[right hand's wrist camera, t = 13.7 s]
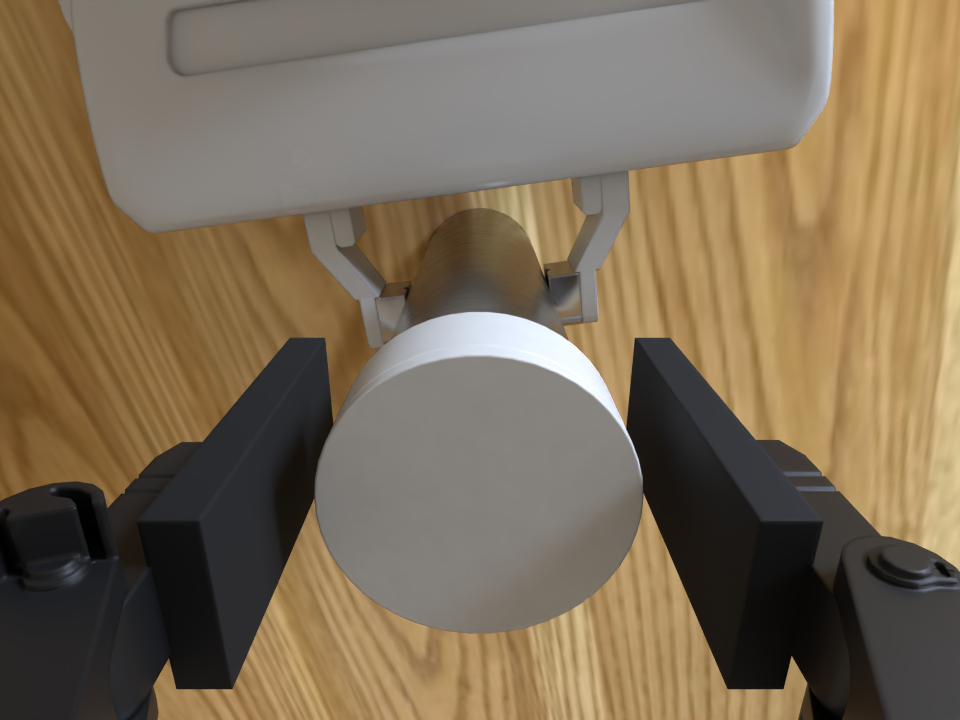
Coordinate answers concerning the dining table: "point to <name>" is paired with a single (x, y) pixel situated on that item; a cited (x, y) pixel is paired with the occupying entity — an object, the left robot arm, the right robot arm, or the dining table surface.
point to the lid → (478, 476)
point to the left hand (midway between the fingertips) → (484, 330)
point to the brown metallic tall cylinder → (480, 273)
